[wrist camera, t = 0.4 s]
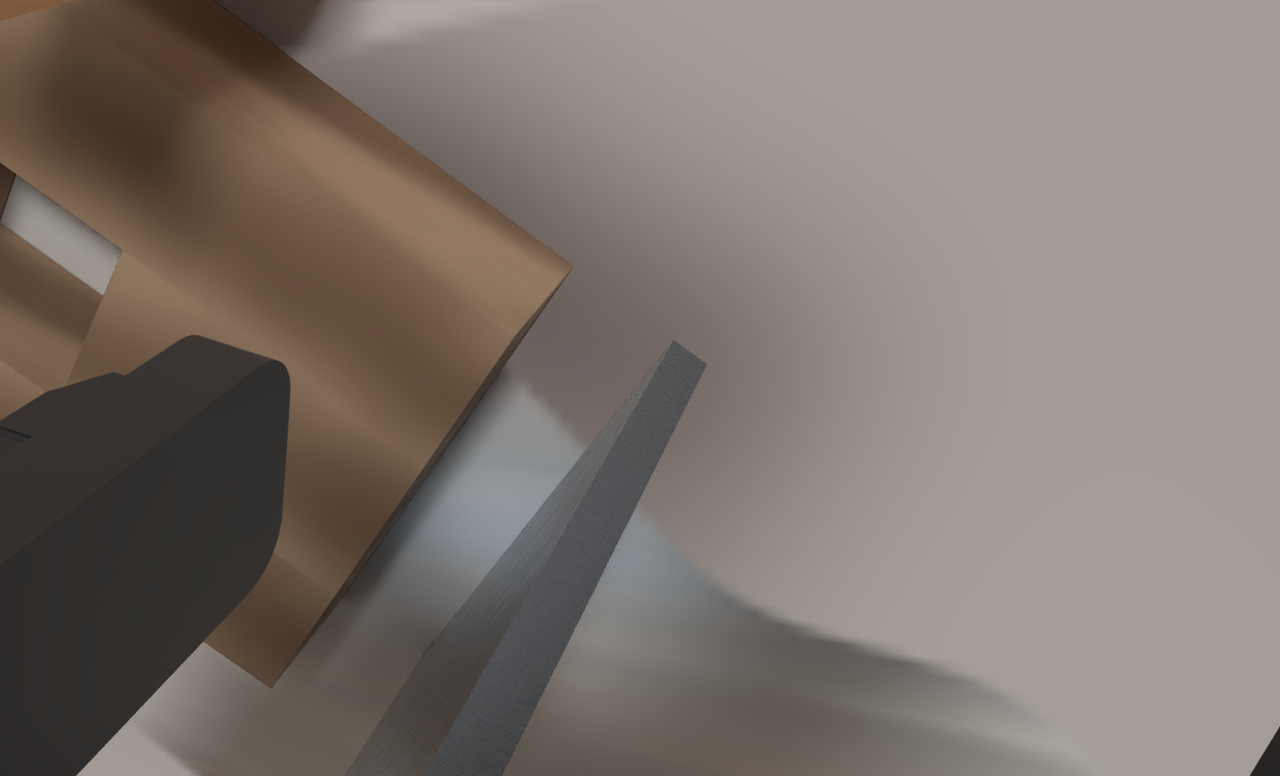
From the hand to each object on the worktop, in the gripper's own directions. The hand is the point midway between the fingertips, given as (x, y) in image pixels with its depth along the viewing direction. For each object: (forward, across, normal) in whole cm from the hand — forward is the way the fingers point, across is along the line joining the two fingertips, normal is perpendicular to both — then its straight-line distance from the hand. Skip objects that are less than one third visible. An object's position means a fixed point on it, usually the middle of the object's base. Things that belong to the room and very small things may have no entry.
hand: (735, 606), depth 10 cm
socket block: (+19, +16, +9) cm, 26 cm away
